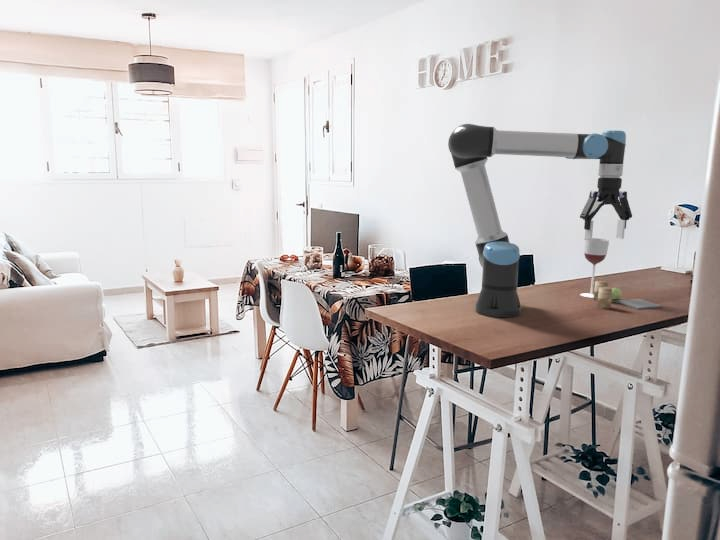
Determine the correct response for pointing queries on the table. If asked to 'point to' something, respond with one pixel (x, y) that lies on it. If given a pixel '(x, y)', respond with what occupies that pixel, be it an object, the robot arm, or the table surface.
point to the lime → (616, 293)
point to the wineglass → (594, 256)
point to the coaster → (638, 304)
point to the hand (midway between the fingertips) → (604, 238)
